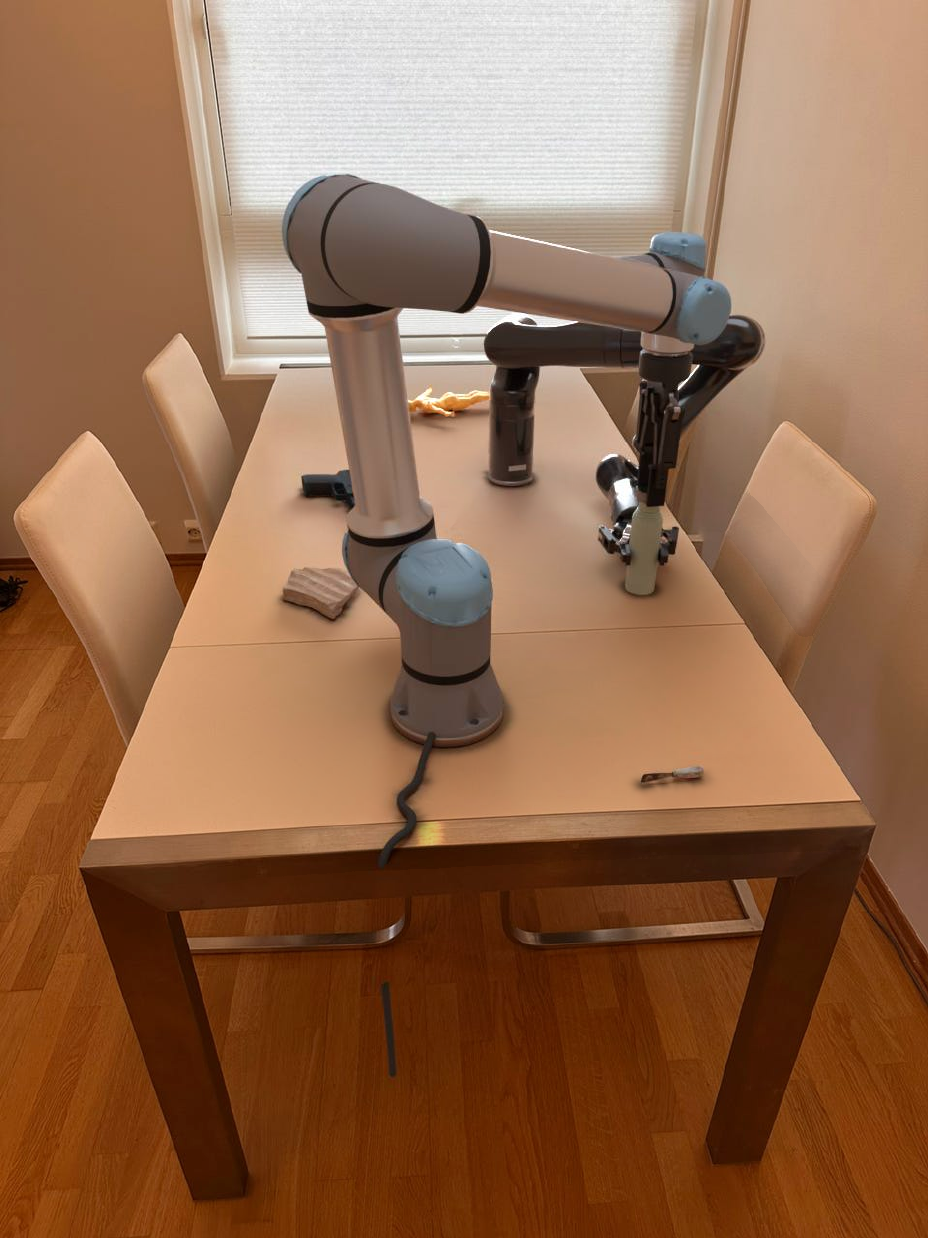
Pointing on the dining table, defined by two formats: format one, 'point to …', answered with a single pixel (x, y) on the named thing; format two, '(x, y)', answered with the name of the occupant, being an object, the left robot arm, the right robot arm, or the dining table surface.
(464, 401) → the human figure
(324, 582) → the stone
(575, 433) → the dining table surface
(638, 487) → the cap
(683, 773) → the putty knife
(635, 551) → the bottle
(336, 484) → the handgun
